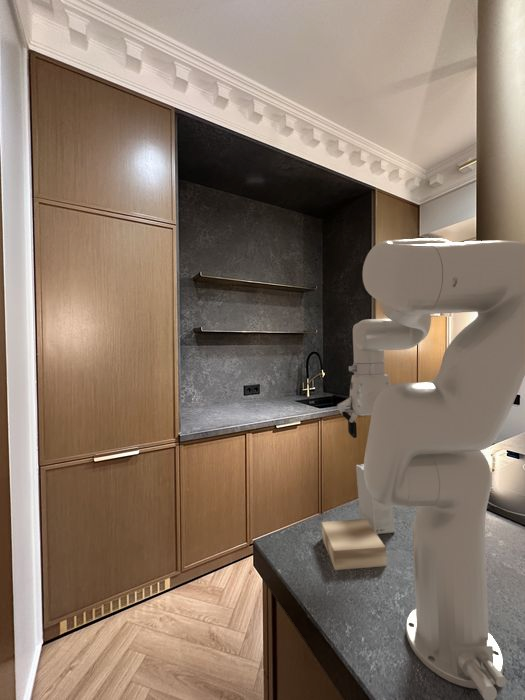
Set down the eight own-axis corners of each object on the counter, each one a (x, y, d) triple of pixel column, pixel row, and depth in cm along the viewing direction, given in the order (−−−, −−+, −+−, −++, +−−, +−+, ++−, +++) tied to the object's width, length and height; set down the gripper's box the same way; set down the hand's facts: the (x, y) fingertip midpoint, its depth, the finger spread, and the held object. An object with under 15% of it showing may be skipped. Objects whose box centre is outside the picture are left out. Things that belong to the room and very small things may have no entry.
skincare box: (395, 533, 77) (393, 472, 77) (372, 536, 76) (370, 475, 76) (378, 515, 85) (376, 461, 85) (357, 517, 85) (355, 463, 85)
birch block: (386, 566, 66) (385, 547, 66) (334, 570, 65) (334, 550, 65) (366, 535, 77) (365, 518, 77) (322, 538, 76) (321, 521, 76)
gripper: (340, 372, 77) (343, 441, 77) (409, 369, 78) (411, 437, 78) (332, 370, 84) (334, 433, 84) (394, 367, 85) (397, 429, 85)
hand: (371, 435), depth 81 cm, fingers open, 9 cm apart
